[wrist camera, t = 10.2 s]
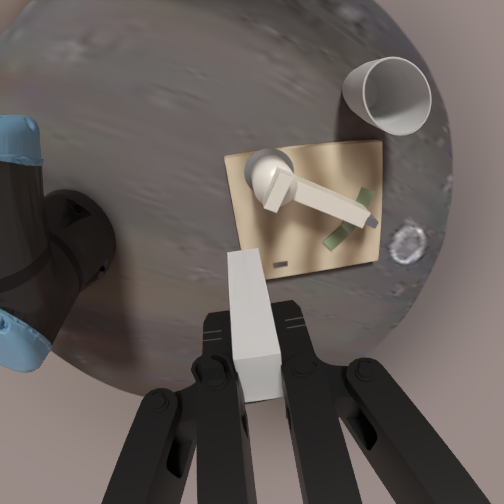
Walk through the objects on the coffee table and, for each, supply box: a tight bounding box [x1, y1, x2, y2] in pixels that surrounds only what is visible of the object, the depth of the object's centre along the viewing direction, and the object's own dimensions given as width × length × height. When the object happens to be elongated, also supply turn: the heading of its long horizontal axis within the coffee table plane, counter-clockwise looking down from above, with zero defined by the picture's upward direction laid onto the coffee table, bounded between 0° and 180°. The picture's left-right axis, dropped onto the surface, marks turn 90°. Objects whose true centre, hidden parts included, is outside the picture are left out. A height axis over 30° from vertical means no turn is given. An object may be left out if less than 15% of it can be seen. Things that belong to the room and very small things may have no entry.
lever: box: [250, 154, 379, 229], centre depth 34 cm, size 17×5×7 cm, turn 68°
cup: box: [342, 57, 431, 135], centre depth 28 cm, size 8×8×10 cm
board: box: [225, 139, 383, 280], centre depth 39 cm, size 20×18×2 cm
